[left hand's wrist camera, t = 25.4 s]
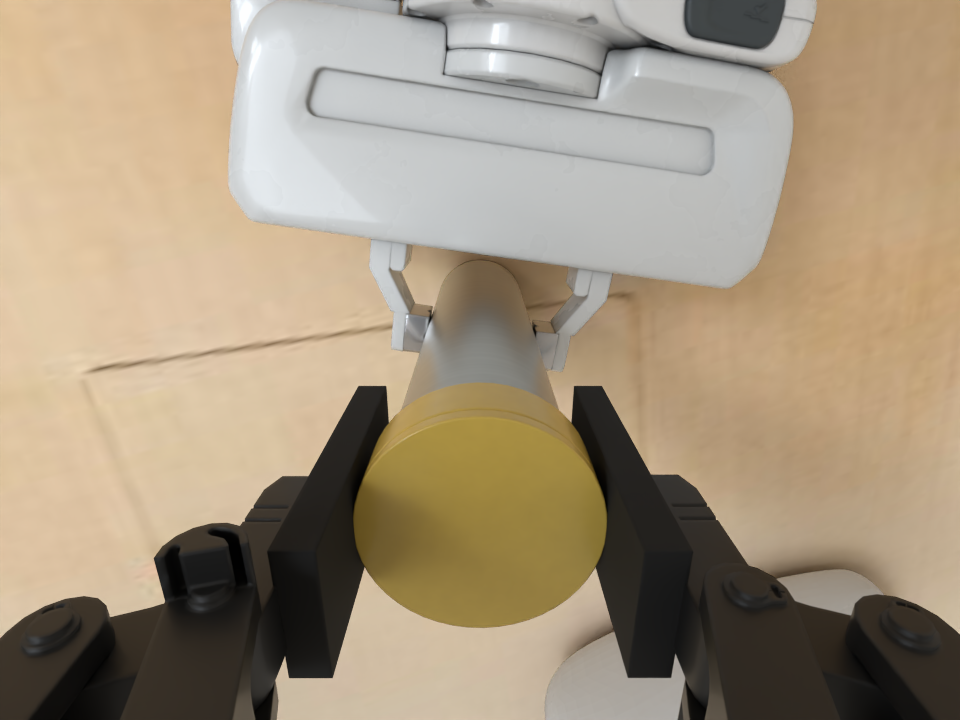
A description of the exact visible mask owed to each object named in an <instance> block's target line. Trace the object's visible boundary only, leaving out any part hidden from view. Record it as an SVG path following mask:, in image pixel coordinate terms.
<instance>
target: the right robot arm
mask: <svg viewBox="0 0 960 720" xmlns="http://www.w3.org/2000/svg"><path fill="white" fill-rule="evenodd" d="M401 3H402V0H231V41H232V48H233V52H234V56H235V59H236V62H237V64H238V71H237V77H236V84H235V91H234V99H233V106H232V116H231V126H230V140H229V159H228V185H229V190H230V193H231V195H232V197H233V198H234V199H235V201H236V202H237V204H238V205H239V207H240V208H241V210H242V211H243V212H244V214H245V215H246V216H247V217H248V219H250V220H251V221H253V222H257V223H263V224H270V225H277V226H284V227H291V228H298V229H305V230H312V231H319V232H326V233H333V234H340V235H347V236H355V237H362V238H369V239H371V250H370V265H369V268H370V270H371V272H372V274H373V276H374V278H375V280H376V282H377V284H378V286H379V288H380V290H381V292H382V294H383V296H384V298H385V300H386V302H387V304H388V306H389V308H390V310H391V311H393V312H394V317H393V329H392V341H391V348H392V350H397V351H408V352H416V353H420V351H421V348H422V345H423V341H424V338H425V335H426V332H427V329H428V326H429V323H430V320H431V317H432V307H433V306H427V305H421V304H415V302H414V300H413V298H412V295H411V293H410V291H409V288H408V286H407V284H406V281H405V279H404V277H403V274H402V272H401V271H402V270H404V269H405V267H406V266H407V265H408V263H409V262H410V261H411V255H412V245H418V246H425V247H432V248H439V249H446V250H453V251H460V252H467V253H474V254H481V255H488V256H495V257H502V258H509V259H516V260H523V261H530V262H537V263H544V264H551V265H558V266H565V267H568V273H567V278H566V283H567V285H568V286H569V287H570V289H571V290H572V291H573V294H572V295H571V297H570V298H569V299H568V300H567V301H566V303H565V304H564V305H563V306H562V308H561V309H560V310H559V311H558V312H557V314H556V315H555V316H554V317H553V318H552V320H551V322H546V321H537V320H533V321H532V329H533V332H534V335H535V338H536V341H537V344H538V347H539V350H540V353H541V356H542V359H543V362H544V366H545V369H546V370H549V371H557V372H562V371H563V369H564V366H565V361H566V356H567V352H568V347H569V342H570V338H571V336H574V335H575V334H576V333H577V332H578V331H579V330H580V329H581V328H582V327H583V326H584V324H585V323H586V322H587V321H588V320H589V319H590V318H591V317H592V316H593V315H594V314H595V313H596V312H597V310H598V309H599V308H600V307H601V306H602V305H603V304H604V303H605V302H606V300H607V296H608V292H609V288H610V283H611V279H612V275H613V273H615V274H622V275H629V276H636V277H643V278H650V279H657V280H664V281H671V282H678V283H685V284H692V285H699V286H706V287H713V288H721V289H729V288H731V287H733V286H734V285H736V284H737V283H739V282H740V281H741V280H742V279H743V278H745V277H746V276H747V275H748V274H749V273H750V272H751V271H753V270H754V269H755V268H756V267H757V265H758V264H759V262H760V260H761V258H762V256H763V253H764V250H765V247H766V244H767V241H768V238H769V235H770V232H771V229H772V225H773V222H774V218H775V215H776V211H777V208H778V204H779V200H780V196H781V192H782V188H783V183H784V179H785V175H786V170H787V165H788V160H789V156H790V150H791V145H792V138H793V123H794V120H793V110H792V104H791V101H790V97H789V95H788V93H787V91H786V89H785V88H784V86H783V85H782V84H781V83H780V81H779V80H778V79H776V78H775V77H774V76H773V75H771V74H769V73H768V72H770V71H773V70H775V69H777V68H779V67H781V66H783V65H785V64H787V63H789V62H791V61H793V60H794V59H796V58H797V57H798V56H799V55H800V53H801V52H802V50H803V49H804V47H805V45H806V43H807V41H808V38H809V36H810V33H811V30H812V27H813V25H812V24H814V21H815V16H816V10H817V1H816V0H403V7H402V5H401ZM402 14H403V15H402Z"/></svg>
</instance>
